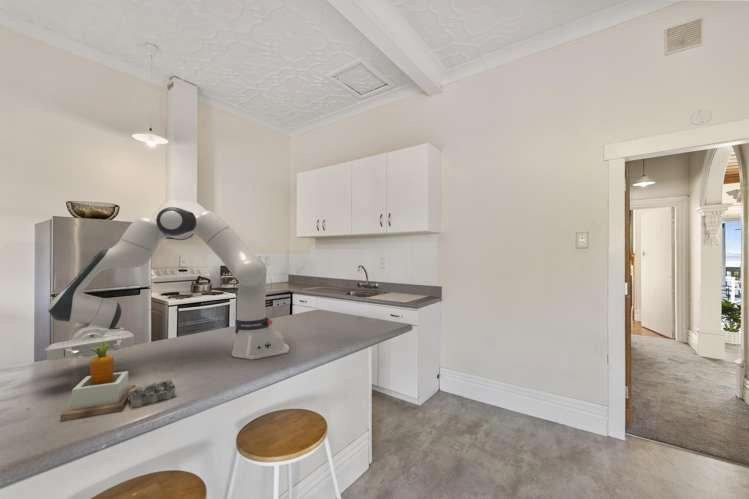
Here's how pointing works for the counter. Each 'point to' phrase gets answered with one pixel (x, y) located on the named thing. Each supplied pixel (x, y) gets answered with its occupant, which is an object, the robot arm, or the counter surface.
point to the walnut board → (96, 408)
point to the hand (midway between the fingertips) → (96, 350)
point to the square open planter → (99, 391)
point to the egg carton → (151, 393)
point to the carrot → (101, 366)
